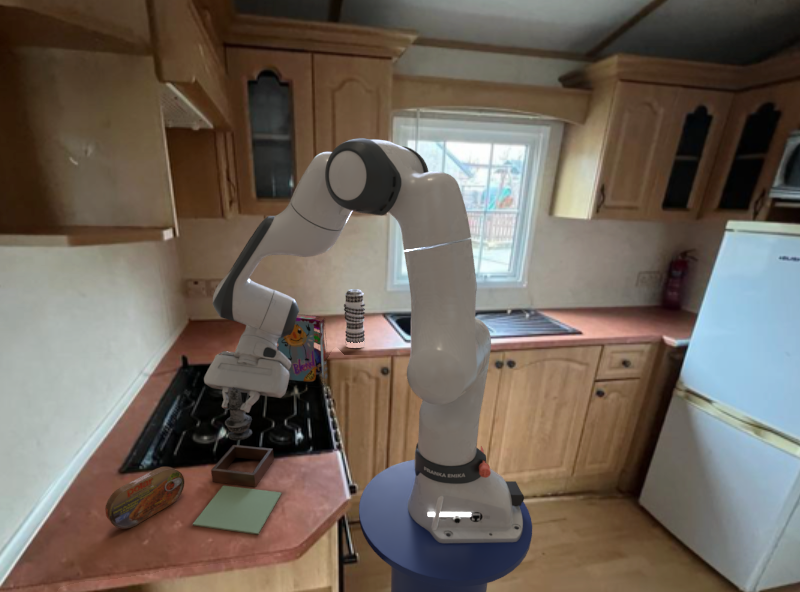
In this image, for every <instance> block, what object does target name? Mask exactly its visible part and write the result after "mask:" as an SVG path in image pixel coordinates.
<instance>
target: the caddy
mask: <svg viewBox="0 0 800 592" xmlns="http://www.w3.org/2000/svg"><path fill="white" fill-rule="evenodd" d="M237 458H238V459H245V460H254V461H255V460H256V461H260V462H259V463H258V464H257V465H256V467H255V468H254V470H253V471H252V472H249V471H240V470H231V469H228V468H229V467H230V466H231V465H232V463H233V462H234V461H235V460H236V459H237ZM274 461H275V456H274V448H269V447H258V446H257V447H256V446H250V445H238V444H233V445H231V447H230V448H229V449H228V450H227V451H226V452H225V454H224V455H223V456H222V457H221V458H220V459H219V460H218V461H217V462H216V464H215V465H214V466H213V467H212V468H211V470H210V473H211V479H212V483H219V484H228V485H236V486H244V487H245V486H246V487H253V488H257V486H258V485H259V482H261V480H262V478H263V477H264V476H265V474H266V472H267V471H268V469H269V468H270V466H271V465H272V463H273V462H274Z"/></svg>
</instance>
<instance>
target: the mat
mask: <svg viewBox="0 0 800 592" xmlns="http://www.w3.org/2000/svg"><path fill="white" fill-rule="evenodd" d="M281 496H282V492H280V491H274V490H265V489H256V488H249V487H239V486H231V485H222V486H221V487H220V488H219V490H218V491H217V492H216V494H215V495H214V496H213V497H212V499H211V500H210V501H209V503H208V504H207V505H206V506H205V508H204V509H203V510H202V511H201V513H200V514H199V515H198V516H197V518H196V519H195V520H194V522H193V523H192V526H195V527H201V528H209V529H215V530H223V531H230V532H237V533H245V534H251V535H259V534H260V533H261V531H262V529H263V528H264V526H265V524H266V522H267V520H268V518H269V517H270V515H271V513H272V511H273V510H274V508H275V507H276V505H277V504H278V503H277V502H278V501H279V499H280V498H281Z"/></svg>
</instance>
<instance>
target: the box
mask: <svg viewBox="0 0 800 592" xmlns="http://www.w3.org/2000/svg"><path fill="white" fill-rule="evenodd" d="M325 329H326V324H325V318H320V320H319V317H318V315H311V314H310V315H308V314H305V315H303V313H302V314H301V313H299V314H298V315H297V318H296V322H295V326H294V329H293V332H292V333H291V334H289V335H287V336H285V337H282V338H279V339H278V341H277V349H276V350H279V351H280V352H281V353H283V354H284V355H285V356H286V357H287V358H288V359H289V360H290V362H291V367H290V369H288V371H289V381H294V382H293V385H296V384H297V383H298V384H299V386H300V387H301V386H304V387H307V388H309V387H310V388H313V386H312V385H309V384H306V383H305V384H303V383H301V382H314V381H317V382H318V380H316V379H317V375H321V378H322V379H321V380H320V383H321V384H320V385H319V386H315V388H317V389H318V388H321V387H322V386H321V385H324V383H325V381H323V379H325V380H327V379H328V378H330V374H329V372H330V371H329V366H326V365H327V360H325V359H327V357H329V353H328V352H327V348H326V347H328V345H327V342H326V341H325V338H327V335H326V332H325ZM315 344H317V345H318V347H317V348H316V347H315ZM319 348H320V349H319ZM324 366H325V368H324ZM324 372H326V373H325V374H324ZM295 381H298V382H295ZM294 383H296V384H294ZM288 385H291V382H288ZM306 385H307V386H306Z"/></svg>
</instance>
